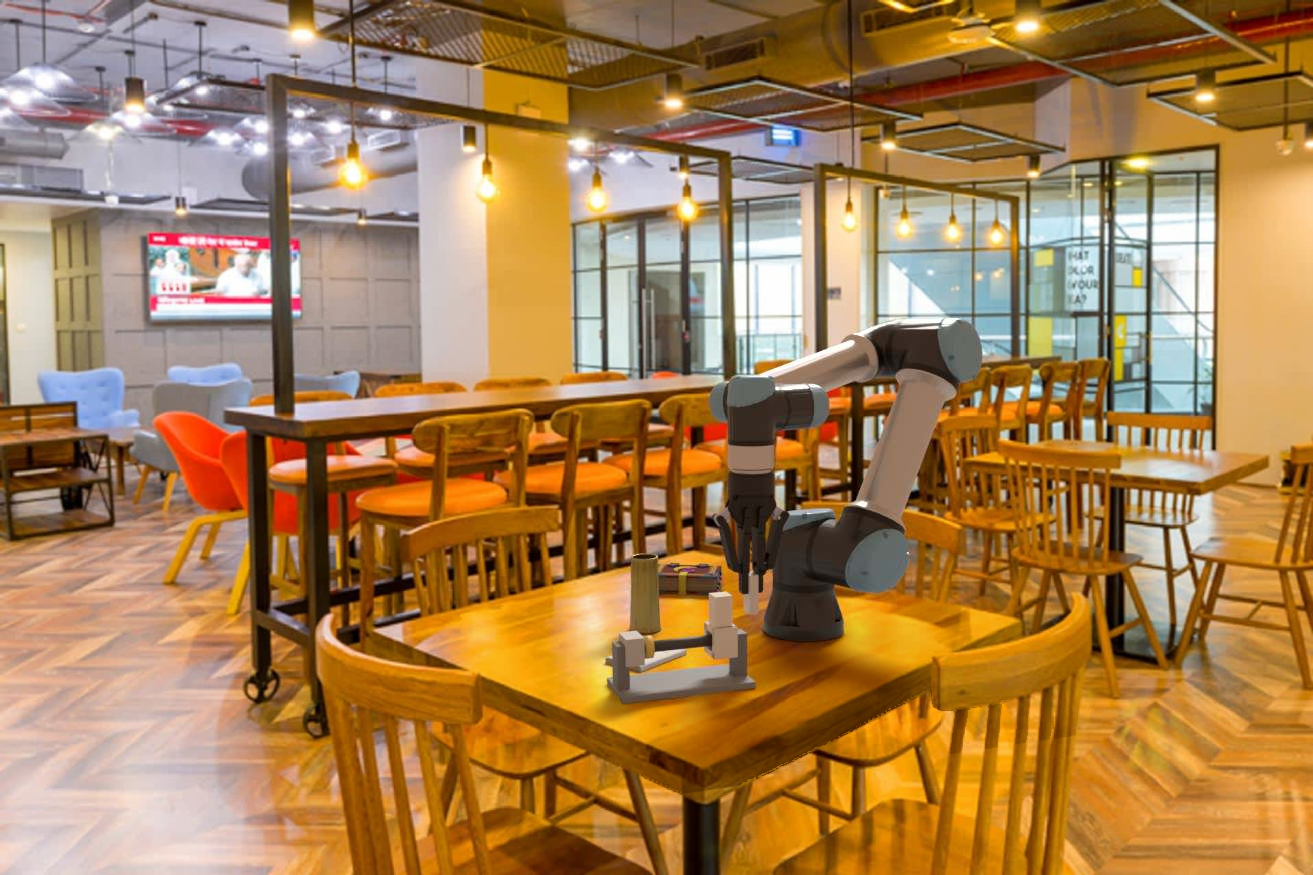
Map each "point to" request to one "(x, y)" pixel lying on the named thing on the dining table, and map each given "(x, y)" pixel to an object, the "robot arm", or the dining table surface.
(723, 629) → the stacked pale cubes
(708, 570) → the decorative book
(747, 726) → the dining table surface
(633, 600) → the vase
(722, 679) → the cord rail
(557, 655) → the dining table surface
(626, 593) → the dining table surface
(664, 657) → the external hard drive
